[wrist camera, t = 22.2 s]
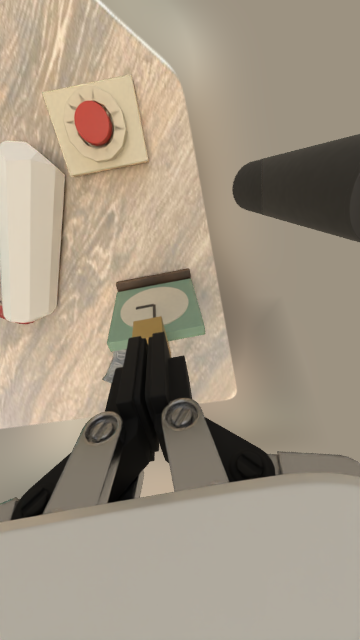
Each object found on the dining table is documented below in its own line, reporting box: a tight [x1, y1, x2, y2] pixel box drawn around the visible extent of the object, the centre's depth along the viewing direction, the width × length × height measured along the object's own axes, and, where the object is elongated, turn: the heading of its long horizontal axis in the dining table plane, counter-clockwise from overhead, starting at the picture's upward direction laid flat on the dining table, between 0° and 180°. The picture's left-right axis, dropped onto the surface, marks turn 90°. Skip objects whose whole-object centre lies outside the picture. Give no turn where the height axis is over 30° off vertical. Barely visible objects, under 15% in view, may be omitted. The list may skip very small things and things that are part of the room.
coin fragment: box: [102, 349, 126, 383], centre depth 47 cm, size 13×5×1 cm, turn 160°
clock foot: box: [116, 269, 191, 292], centre depth 40 cm, size 12×2×1 cm, turn 100°
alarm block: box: [42, 74, 149, 177], centre depth 29 cm, size 10×8×4 cm
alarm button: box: [74, 101, 112, 146], centre depth 26 cm, size 4×4×2 cm
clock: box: [107, 278, 205, 357], centre depth 31 cm, size 12×17×6 cm
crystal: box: [0, 141, 65, 323], centre depth 34 cm, size 7×7×24 cm
